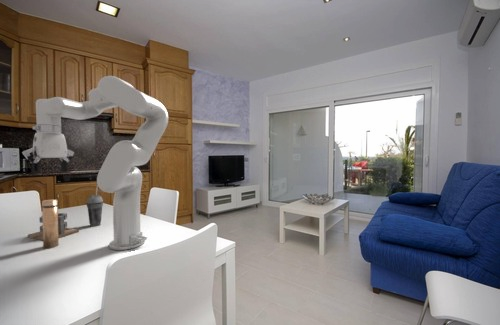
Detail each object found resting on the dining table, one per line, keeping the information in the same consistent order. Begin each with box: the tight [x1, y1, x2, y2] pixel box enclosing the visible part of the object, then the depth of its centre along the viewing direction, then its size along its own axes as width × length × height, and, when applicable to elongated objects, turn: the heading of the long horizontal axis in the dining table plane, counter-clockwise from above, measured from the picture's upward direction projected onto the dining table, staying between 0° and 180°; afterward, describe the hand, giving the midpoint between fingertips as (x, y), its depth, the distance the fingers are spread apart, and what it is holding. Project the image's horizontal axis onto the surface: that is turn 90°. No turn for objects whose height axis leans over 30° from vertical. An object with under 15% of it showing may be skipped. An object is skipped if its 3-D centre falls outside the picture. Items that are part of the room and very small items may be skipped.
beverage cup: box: [85, 185, 104, 228], centre depth 116 cm, size 7×7×20 cm
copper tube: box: [41, 198, 59, 250], centre depth 89 cm, size 5×5×18 cm
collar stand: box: [27, 212, 80, 241], centre depth 102 cm, size 14×12×8 cm
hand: (51, 172), depth 94 cm, fingers open, 9 cm apart
